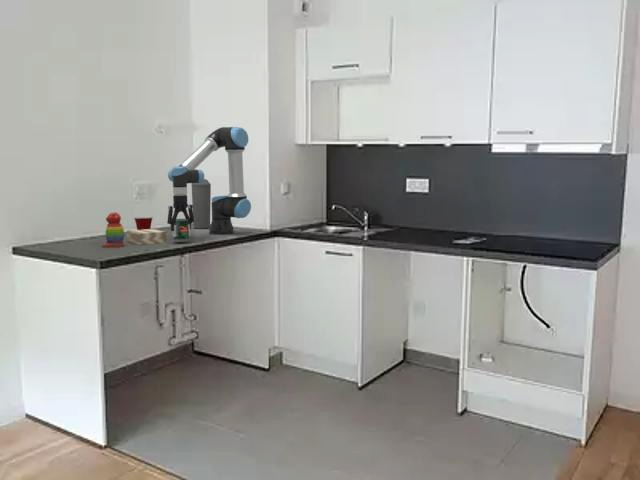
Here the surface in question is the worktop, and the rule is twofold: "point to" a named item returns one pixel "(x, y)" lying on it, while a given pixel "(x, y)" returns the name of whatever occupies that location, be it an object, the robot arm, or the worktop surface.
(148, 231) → the base block
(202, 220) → the canister
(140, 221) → the plastic cup
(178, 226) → the canned tomato
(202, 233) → the worktop surface
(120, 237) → the stacking bear
